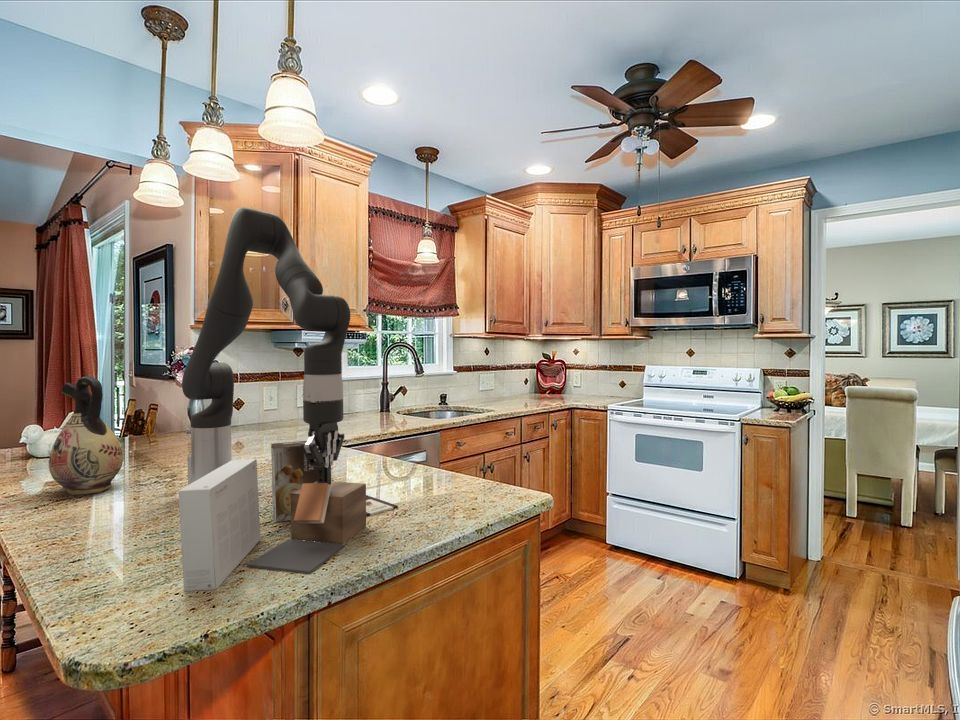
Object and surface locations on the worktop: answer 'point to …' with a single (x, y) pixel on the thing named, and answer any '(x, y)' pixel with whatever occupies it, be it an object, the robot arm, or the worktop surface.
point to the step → (334, 515)
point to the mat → (296, 556)
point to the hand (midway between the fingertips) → (324, 485)
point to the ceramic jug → (85, 444)
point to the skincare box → (218, 523)
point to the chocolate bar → (377, 506)
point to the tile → (312, 503)
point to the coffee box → (288, 476)
